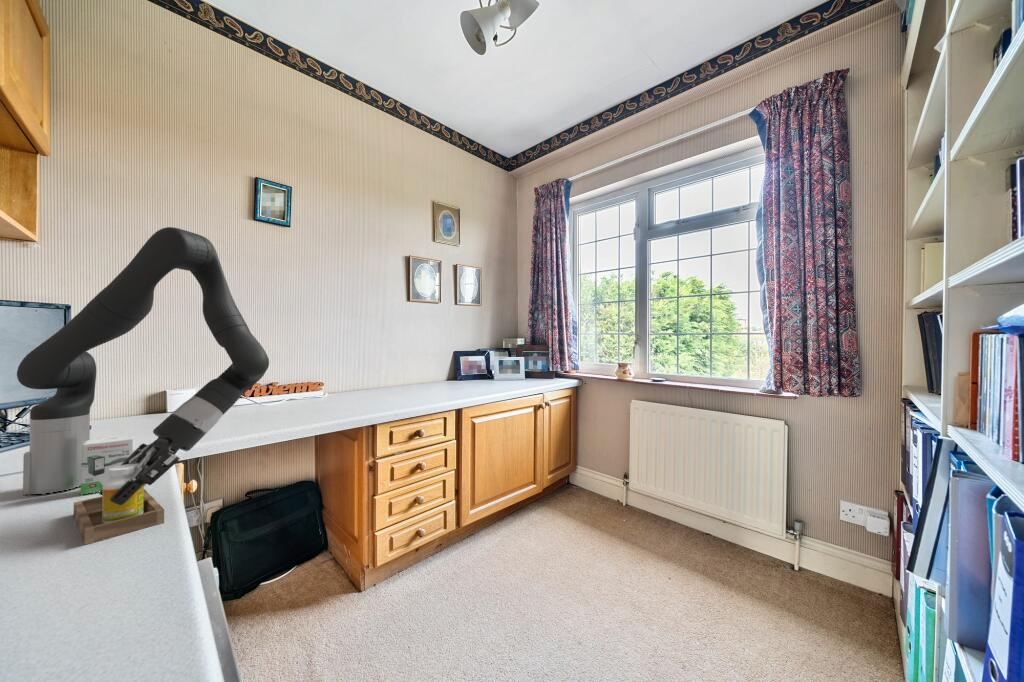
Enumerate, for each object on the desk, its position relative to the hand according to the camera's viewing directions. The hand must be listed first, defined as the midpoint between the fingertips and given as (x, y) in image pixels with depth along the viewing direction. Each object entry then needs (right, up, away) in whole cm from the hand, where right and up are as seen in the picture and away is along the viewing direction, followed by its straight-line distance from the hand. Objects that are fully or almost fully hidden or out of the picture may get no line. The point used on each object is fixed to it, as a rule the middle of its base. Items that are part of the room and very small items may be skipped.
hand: (109, 499), depth 69 cm
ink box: (-22, -6, +20) cm, 31 cm away
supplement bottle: (+1, -4, +1) cm, 5 cm away
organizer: (-3, -6, +4) cm, 7 cm away
